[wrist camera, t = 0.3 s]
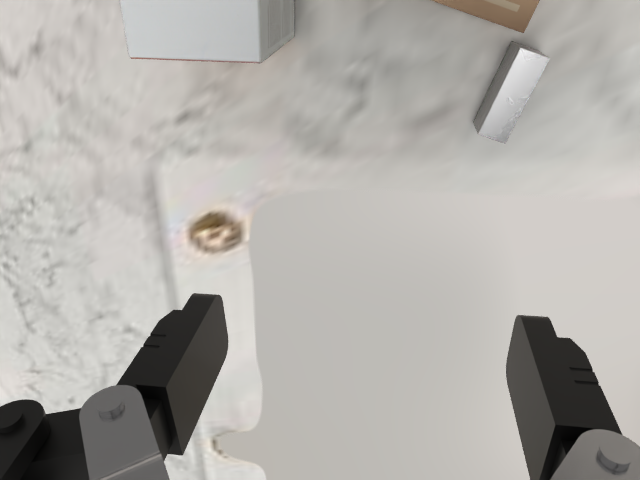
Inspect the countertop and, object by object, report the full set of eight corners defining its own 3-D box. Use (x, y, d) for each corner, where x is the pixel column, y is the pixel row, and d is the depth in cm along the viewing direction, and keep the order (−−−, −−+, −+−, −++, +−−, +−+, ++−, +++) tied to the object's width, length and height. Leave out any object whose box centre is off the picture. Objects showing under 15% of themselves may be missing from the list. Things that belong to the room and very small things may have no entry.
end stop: (511, 41, 35) (520, 48, 32) (538, 50, 35) (549, 58, 32) (473, 122, 38) (478, 134, 35) (498, 130, 38) (505, 143, 35)
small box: (191, 34, 38) (124, 60, 29) (182, -52, 35) (105, -55, 26) (296, 39, 37) (262, 66, 28) (296, -50, 34) (257, -52, 25)
